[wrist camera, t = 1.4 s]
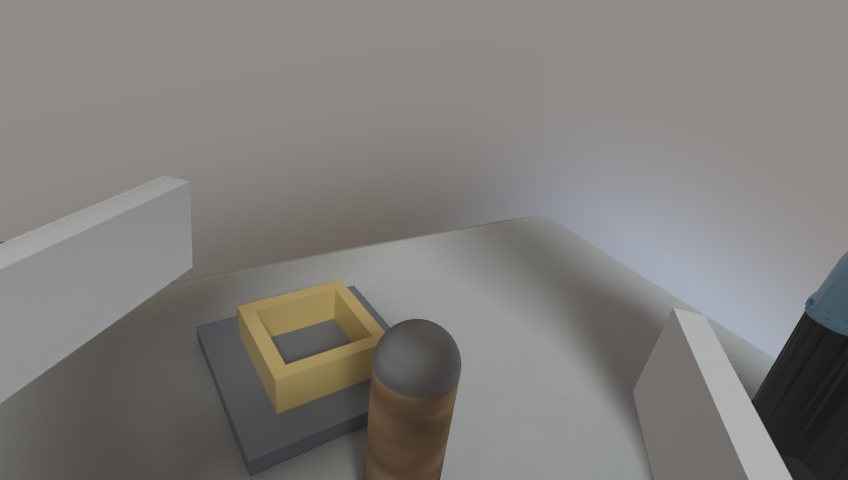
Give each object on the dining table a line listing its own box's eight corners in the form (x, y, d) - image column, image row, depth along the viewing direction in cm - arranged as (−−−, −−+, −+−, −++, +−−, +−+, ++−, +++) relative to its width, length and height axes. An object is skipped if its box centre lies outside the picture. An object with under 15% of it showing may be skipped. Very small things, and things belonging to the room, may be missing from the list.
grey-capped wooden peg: (409, 461, 37) (433, 293, 30) (448, 517, 34) (486, 343, 26) (349, 491, 35) (358, 315, 27) (384, 556, 31) (406, 374, 24)
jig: (353, 296, 54) (355, 258, 52) (435, 394, 43) (442, 351, 41) (198, 339, 46) (191, 296, 44) (249, 475, 35) (245, 426, 32)
